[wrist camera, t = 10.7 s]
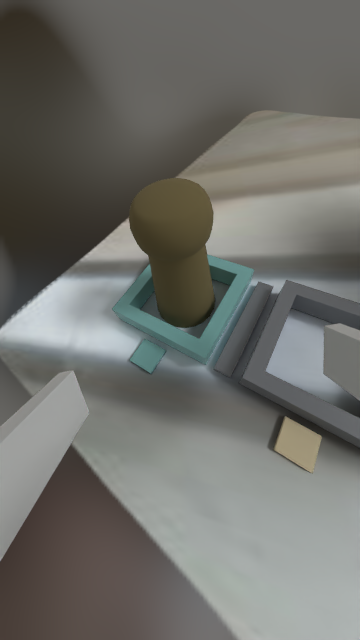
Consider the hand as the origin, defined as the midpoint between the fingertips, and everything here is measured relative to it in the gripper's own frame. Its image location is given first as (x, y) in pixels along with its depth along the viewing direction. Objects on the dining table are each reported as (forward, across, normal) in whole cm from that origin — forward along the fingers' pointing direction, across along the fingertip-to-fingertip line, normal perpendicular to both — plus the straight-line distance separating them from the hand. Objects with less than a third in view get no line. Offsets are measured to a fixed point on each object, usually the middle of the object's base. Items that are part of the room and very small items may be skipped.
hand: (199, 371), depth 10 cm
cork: (+11, 0, +2) cm, 11 cm away
